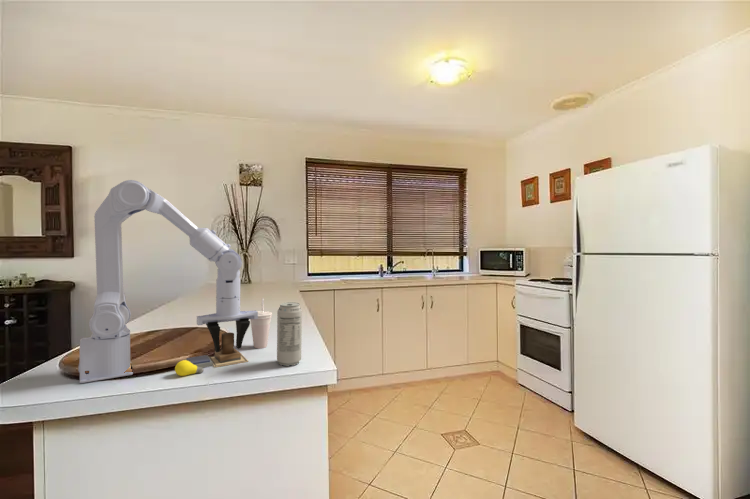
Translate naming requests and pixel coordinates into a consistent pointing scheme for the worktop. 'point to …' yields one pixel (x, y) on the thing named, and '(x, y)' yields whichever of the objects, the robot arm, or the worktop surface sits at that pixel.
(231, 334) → the stamp
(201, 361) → the ink pad
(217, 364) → the card sheet
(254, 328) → the smoothie
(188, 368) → the light bulb
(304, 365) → the worktop surface
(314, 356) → the worktop surface
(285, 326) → the energy drink can
